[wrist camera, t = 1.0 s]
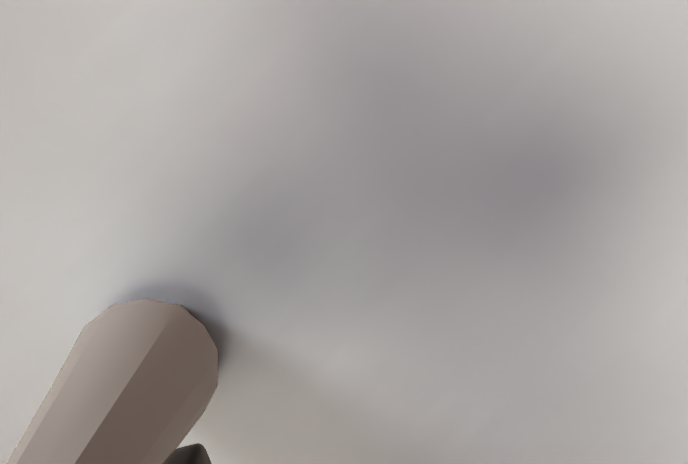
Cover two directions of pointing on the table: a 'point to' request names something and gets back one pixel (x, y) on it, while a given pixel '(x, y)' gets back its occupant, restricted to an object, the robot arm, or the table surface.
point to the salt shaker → (125, 389)
